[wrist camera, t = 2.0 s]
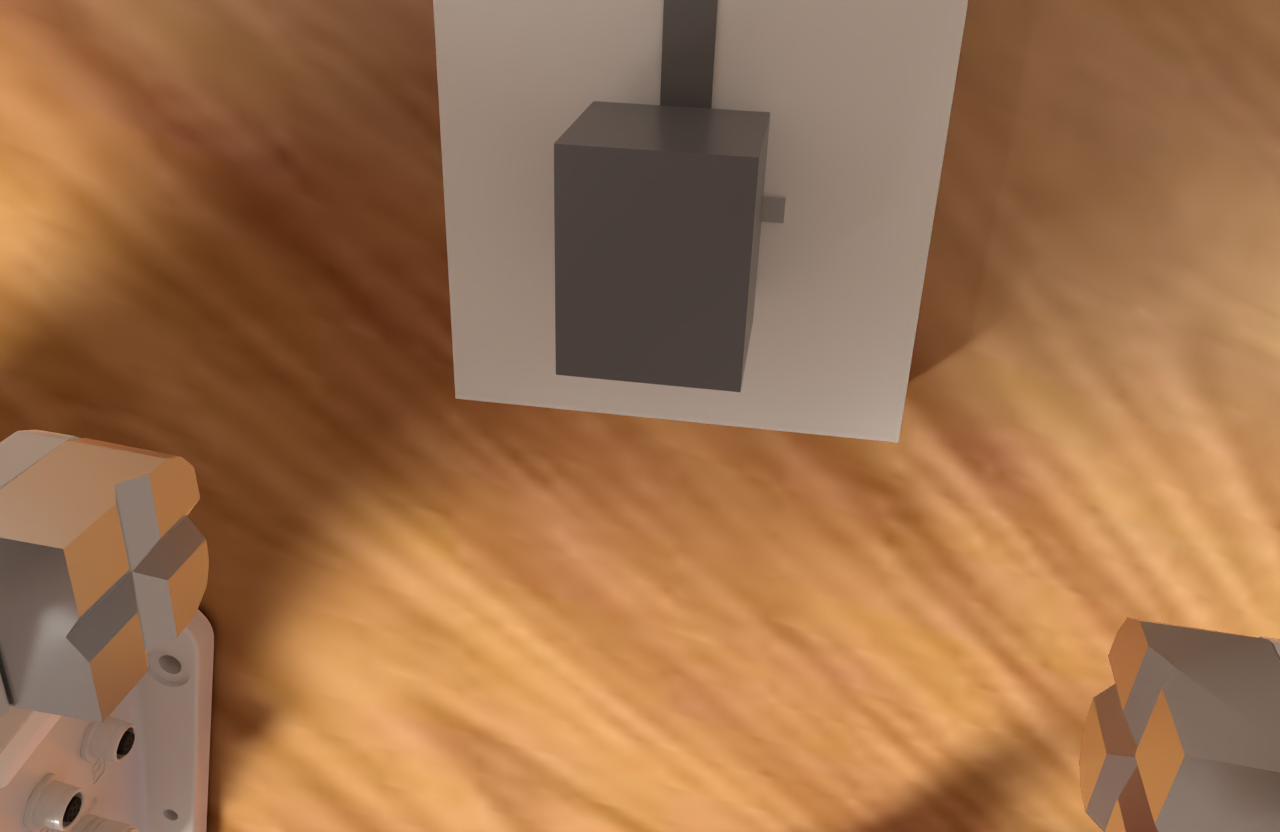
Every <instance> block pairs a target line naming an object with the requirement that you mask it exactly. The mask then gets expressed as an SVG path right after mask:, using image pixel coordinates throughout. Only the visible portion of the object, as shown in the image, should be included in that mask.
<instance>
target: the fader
mask: <svg viewBox="0 0 1280 832" xmlns="http://www.w3.org/2000/svg"><path fill="white" fill-rule="evenodd" d="M769 123H770V112H758V111H742V110H726V109H711V108H695V107H679V106H663V105H647V104H631V103H616V102H600V101H593V102H592V103H591V104H590V106H589V107H588V108H587V109H586V110H585V111H584V112H583V113H582V114H581V115H580V116H579V117H578V118H577V119H576V120H575V121H574V123H573V124H572V125H571V126H570V127H569V128H568V129H567V130H566V131H565V132H564V133H563V134H562V135H561V136H560V137H559V139H558V140H557V141H556V142H555V143H554V227H555V345H556V375H564V376H574V377H585V378H595V379H606V380H616V381H627V382H637V383H648V384H658V385H669V386H679V387H690V388H700V389H711V390H721V391H732V392H741V387H742V381H743V375H744V370H745V364H746V358H747V353H748V347H749V341H750V336H751V330H752V324H753V316H754V304H755V292H756V280H757V268H758V256H759V244H760V232H761V220H762V207H763V195H764V183H765V171H766V159H767V147H768V135H769Z"/></svg>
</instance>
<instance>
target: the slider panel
mask: <svg viewBox="0 0 1280 832" xmlns="http://www.w3.org/2000/svg"><path fill="white" fill-rule="evenodd" d="M967 6H968V0H433V9H434V26H435V44H436V62H437V80H438V97H439V115H440V133H441V151H442V168H443V186H444V204H445V222H446V239H447V257H448V275H449V293H450V310H451V328H452V346H453V364H454V381H455V399H465V400H475V401H485V402H495V403H505V404H515V405H525V406H535V407H545V408H555V409H565V410H575V411H585V412H596V413H606V414H616V415H626V416H636V417H646V418H656V419H666V420H676V421H686V422H696V423H706V424H716V425H726V426H736V427H746V428H756V429H766V430H776V431H787V432H797V433H807V434H817V435H827V436H837V437H847V438H857V439H867V440H877V441H887V442H897V443H898V442H899V436H900V429H901V423H902V417H903V410H904V404H905V398H906V391H907V385H908V379H909V373H910V366H911V360H912V354H913V347H914V341H915V335H916V328H917V322H918V316H919V309H920V303H921V297H922V290H923V284H924V278H925V271H926V265H927V259H928V252H929V246H930V240H931V233H932V227H933V221H934V214H935V208H936V202H937V195H938V189H939V183H940V177H941V170H942V164H943V158H944V151H945V145H946V139H947V132H948V126H949V120H950V113H951V107H952V101H953V94H954V88H955V82H956V75H957V69H958V63H959V56H960V50H961V44H962V37H963V31H964V25H965V18H966V12H967ZM593 101H600V102H616V103H631V104H647V105H663V106H679V107H695V108H711V109H726V110H742V111H758V112H770V123H769V135H768V147H767V159H766V171H765V183H764V195H763V207H762V220H761V232H760V244H759V256H758V268H757V280H756V292H755V304H754V316H753V324H752V330H751V336H750V341H749V347H748V353H747V358H746V364H745V370H744V375H743V381H742V387H741V392H732V391H721V390H711V389H700V388H690V387H679V386H669V385H658V384H648V383H637V382H627V381H616V380H606V379H595V378H585V377H574V376H564V375H556V345H555V227H554V143H555V142H556V141H557V140H558V139H559V137H560V136H561V135H562V134H563V133H564V132H565V131H566V130H567V129H568V128H569V127H570V126H571V125H572V124H573V123H574V121H575V120H576V119H577V118H578V117H579V116H580V115H581V114H582V113H583V112H584V111H585V110H586V109H587V108H588V107H589V106H590V104H591V103H592V102H593Z"/></svg>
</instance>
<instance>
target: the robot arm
mask: <svg viewBox="0 0 1280 832" xmlns="http://www.w3.org/2000/svg"><path fill="white" fill-rule="evenodd" d="M199 499H200V494H199V489H198V484H197V479H196V474H195V469H194V467H193V466H192V465H191V464H190V463H189V462H187V461H186V460H185V459H184V458H183V457H182V456H177V455H172V454H167V453H162V452H157V451H151V450H146V449H141V448H136V447H130V446H125V445H120V444H115V443H110V442H104V441H99V440H94V439H89V438H79V437H76V436H73V435H67V434H61V433H55V432H48V431H42V430H36V429H35V430H22V431H16V432H15V433H13V434H12V435H10V436H9V437H7V438H6V439H4V440H3V441H1V442H0V832H206V828H207V804H208V779H209V755H210V730H211V706H212V681H213V657H214V632H213V629H212V626H211V624H210V622H209V621H208V619H207V618H206V617H205V616H204V615H203V614H202V613H201V612H200V611H199V610H198V607H199V604H200V602H201V599H202V597H203V595H204V592H205V590H206V587H207V579H208V569H209V556H208V548H207V541H206V538H205V537H204V536H203V534H202V533H201V532H200V531H199V529H198V528H197V527H196V526H195V524H194V523H193V522H192V521H191V519H190V518H189V517H188V515H189V513H190V512H191V510H192V509H193V508H194V506H195V505H196V504H197V502H198V501H199ZM1108 657H1109V661H1110V665H1111V668H1112V672H1113V676H1114V680H1115V683H1116V684H1114V685H1112V686H1111V687H1109V688H1108V689H1106V690H1105V691H1103V692H1102V693H1100V694H1098V695H1097V696H1095V697H1094V698H1093V700H1092V704H1091V707H1090V710H1089V713H1088V716H1087V719H1086V723H1085V726H1084V729H1083V736H1082V744H1081V752H1080V760H1079V765H1080V785H1081V792H1082V797H1083V802H1084V807H1085V812H1086V813H1087V814H1088V815H1089V816H1090V818H1091V819H1092V820H1093V821H1094V822H1095V823H1096V824H1097V825H1098V826H1099V827H1100V828H1101V829H1102V830H1103V831H1104V832H1280V639H1274V638H1267V637H1259V638H1256V637H1250V636H1244V635H1237V634H1231V633H1224V632H1218V631H1212V630H1205V629H1199V628H1192V627H1186V626H1180V625H1173V624H1167V623H1161V622H1154V621H1148V620H1141V619H1135V618H1129V617H1127V619H1126V620H1125V622H1124V623H1123V624H1122V626H1121V627H1120V629H1119V630H1118V632H1117V634H1116V637H1115V639H1114V642H1113V645H1112V647H1111V650H1110V653H1109V655H1108Z"/></svg>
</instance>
